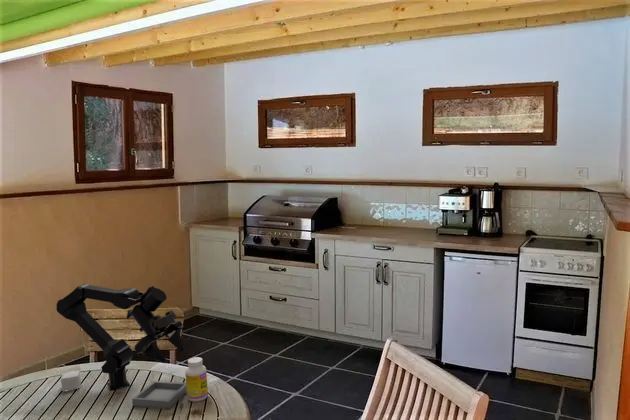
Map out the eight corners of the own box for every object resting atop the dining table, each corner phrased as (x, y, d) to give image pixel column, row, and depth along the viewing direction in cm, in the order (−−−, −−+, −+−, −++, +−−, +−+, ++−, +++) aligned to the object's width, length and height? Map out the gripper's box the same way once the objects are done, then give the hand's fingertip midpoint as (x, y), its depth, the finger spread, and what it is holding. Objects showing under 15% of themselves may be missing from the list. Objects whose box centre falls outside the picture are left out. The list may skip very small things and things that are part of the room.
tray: (132, 406, 168) (132, 398, 168) (154, 387, 180) (153, 380, 180) (169, 409, 165) (168, 401, 164) (188, 390, 177) (188, 383, 177)
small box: (64, 385, 186) (62, 372, 186) (81, 382, 188) (80, 369, 187) (61, 392, 181) (60, 378, 180) (79, 389, 182) (78, 375, 182)
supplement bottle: (203, 402, 168) (200, 364, 166) (184, 401, 169) (180, 363, 168) (211, 393, 174) (208, 356, 173) (192, 392, 176) (189, 355, 174)
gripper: (139, 314, 165) (169, 353, 162) (177, 297, 182) (205, 332, 179) (121, 334, 169) (150, 373, 166) (160, 316, 186) (187, 351, 183)
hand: (174, 356), depth 173 cm, fingers open, 9 cm apart
